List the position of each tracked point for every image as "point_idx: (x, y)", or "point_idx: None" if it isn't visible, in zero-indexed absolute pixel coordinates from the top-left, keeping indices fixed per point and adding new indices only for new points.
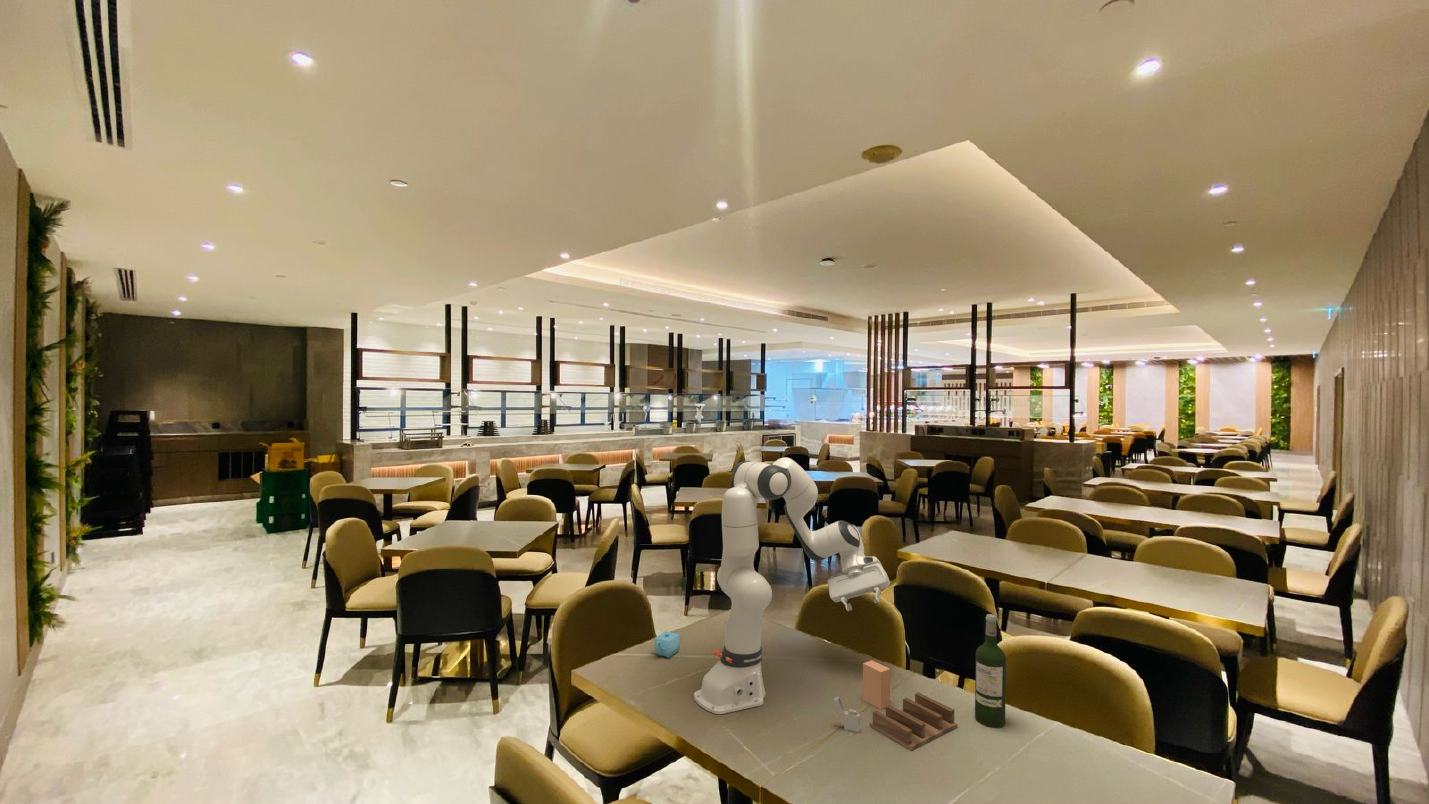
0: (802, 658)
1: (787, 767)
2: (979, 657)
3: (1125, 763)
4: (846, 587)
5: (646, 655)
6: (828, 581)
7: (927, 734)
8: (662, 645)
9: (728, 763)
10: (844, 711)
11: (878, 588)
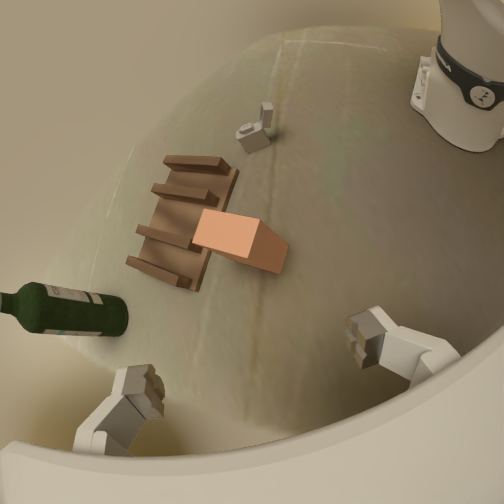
0: None
1: (281, 51)
2: (38, 287)
3: None
4: (446, 444)
5: None
6: None
7: (161, 206)
8: None
9: (330, 26)
10: (260, 124)
11: (76, 434)
